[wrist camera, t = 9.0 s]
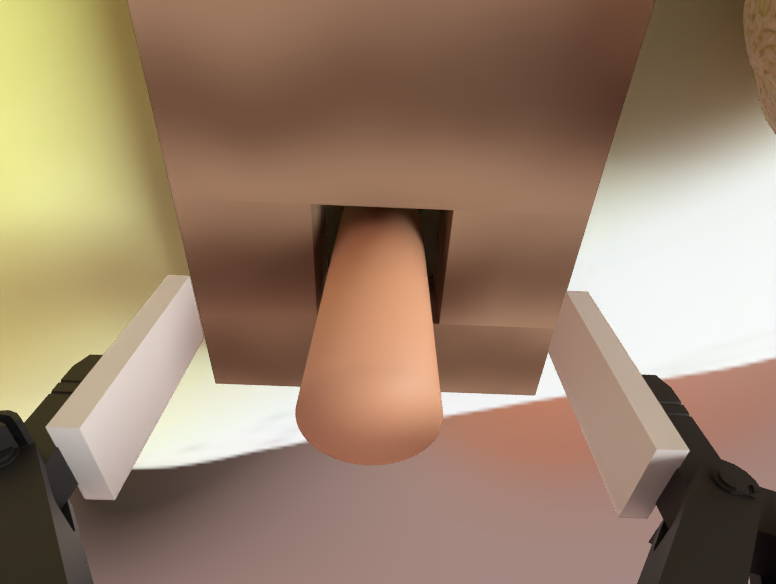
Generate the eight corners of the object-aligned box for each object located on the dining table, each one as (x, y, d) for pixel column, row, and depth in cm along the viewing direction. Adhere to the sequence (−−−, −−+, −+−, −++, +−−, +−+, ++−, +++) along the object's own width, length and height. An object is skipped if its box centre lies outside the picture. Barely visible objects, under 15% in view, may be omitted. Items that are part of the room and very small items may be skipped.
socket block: (167, -64, 16) (109, -78, 13) (614, -43, 16) (670, -51, 13) (238, 333, 26) (215, 383, 23) (517, 344, 26) (534, 395, 23)
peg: (339, 186, 21) (289, 361, 11) (425, 190, 21) (451, 367, 11) (340, 261, 24) (300, 462, 14) (418, 264, 24) (435, 467, 14)
